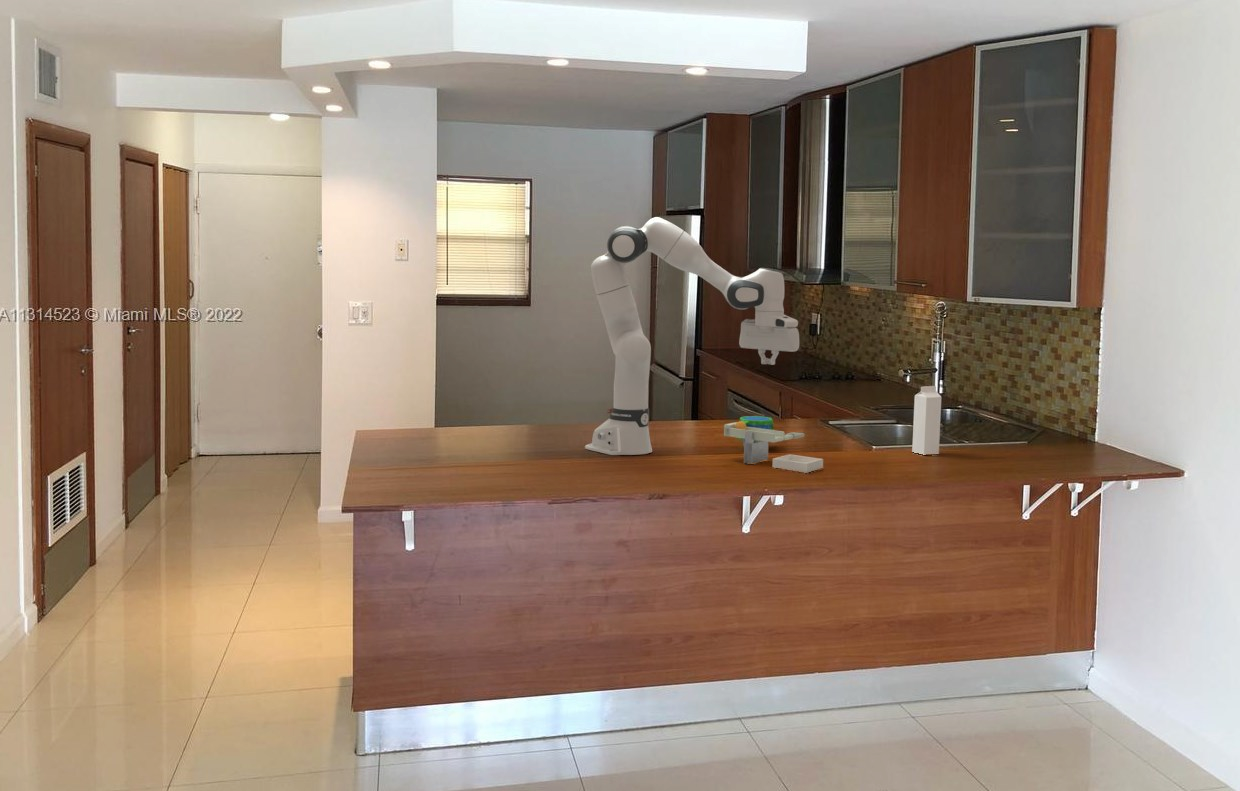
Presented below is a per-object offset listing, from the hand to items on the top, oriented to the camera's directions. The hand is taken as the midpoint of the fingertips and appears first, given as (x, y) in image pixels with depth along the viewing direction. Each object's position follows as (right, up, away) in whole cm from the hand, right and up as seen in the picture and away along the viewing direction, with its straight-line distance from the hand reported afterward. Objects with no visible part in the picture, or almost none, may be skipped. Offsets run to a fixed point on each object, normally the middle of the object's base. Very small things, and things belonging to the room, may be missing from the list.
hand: (768, 364), depth 345 cm
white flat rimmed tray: (+7, -32, -17) cm, 37 cm away
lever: (-2, -22, -5) cm, 23 cm away
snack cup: (-2, -28, +16) cm, 32 cm away
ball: (-9, -20, -6) cm, 22 cm away
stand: (-5, -30, -8) cm, 32 cm away
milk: (+52, -29, +9) cm, 60 cm away
